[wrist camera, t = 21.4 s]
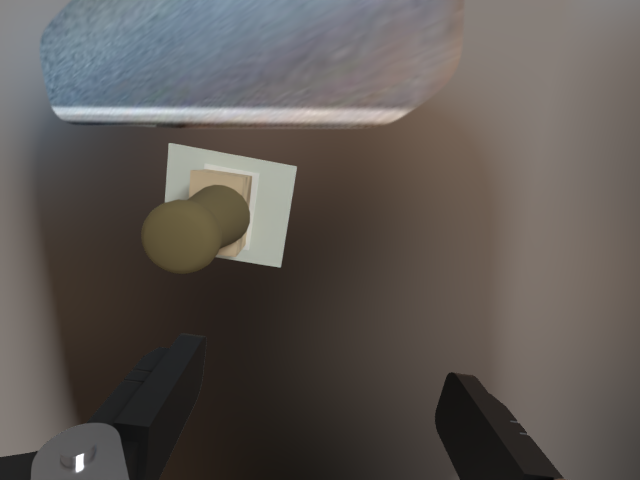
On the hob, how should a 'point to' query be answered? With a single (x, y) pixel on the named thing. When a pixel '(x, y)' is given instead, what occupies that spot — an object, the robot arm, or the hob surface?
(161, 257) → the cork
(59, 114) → the hob surface
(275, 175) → the board
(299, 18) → the hob surface
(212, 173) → the oak block
